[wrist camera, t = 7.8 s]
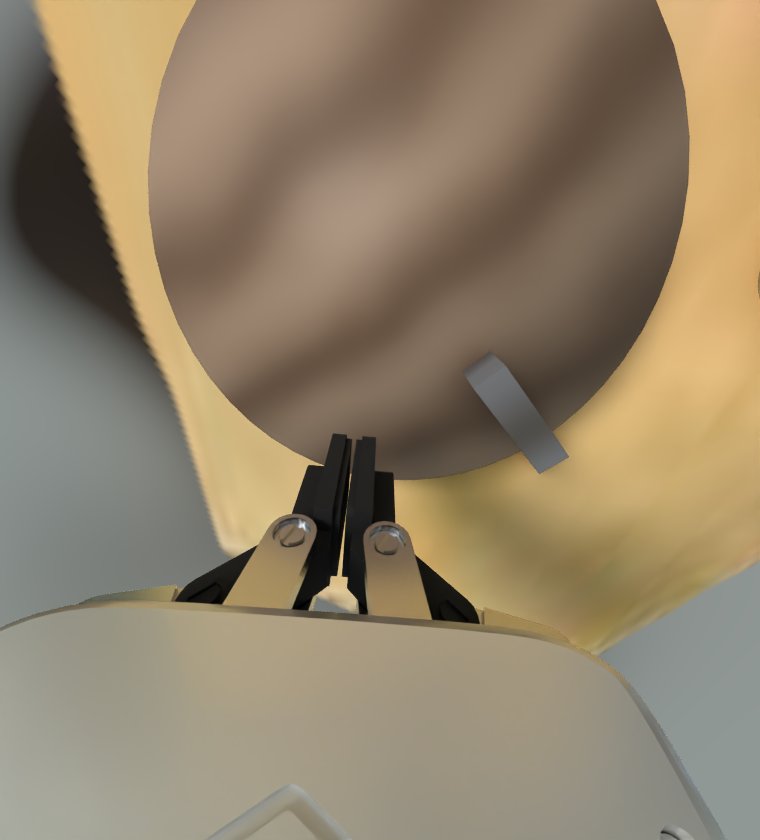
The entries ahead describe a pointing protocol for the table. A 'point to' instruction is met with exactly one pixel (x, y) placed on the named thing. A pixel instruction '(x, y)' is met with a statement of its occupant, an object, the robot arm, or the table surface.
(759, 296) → the aluminium cover
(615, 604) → the table surface
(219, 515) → the table surface
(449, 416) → the turntable
